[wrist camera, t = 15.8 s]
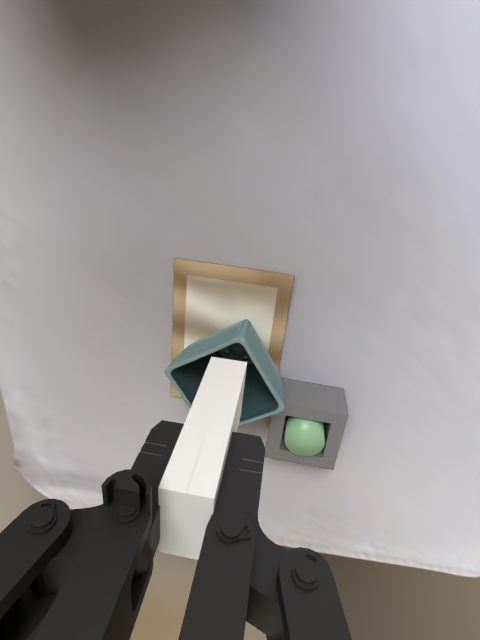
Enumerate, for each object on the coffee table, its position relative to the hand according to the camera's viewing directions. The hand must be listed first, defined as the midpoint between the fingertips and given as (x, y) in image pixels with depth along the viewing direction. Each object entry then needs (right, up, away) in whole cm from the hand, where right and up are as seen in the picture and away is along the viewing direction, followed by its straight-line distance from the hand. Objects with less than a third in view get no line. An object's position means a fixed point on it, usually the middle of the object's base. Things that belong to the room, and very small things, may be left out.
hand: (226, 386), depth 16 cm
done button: (+8, -9, +30) cm, 33 cm away
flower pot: (0, 0, +28) cm, 28 cm away
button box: (+9, -8, +31) cm, 33 cm away
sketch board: (-1, 0, +29) cm, 29 cm away
